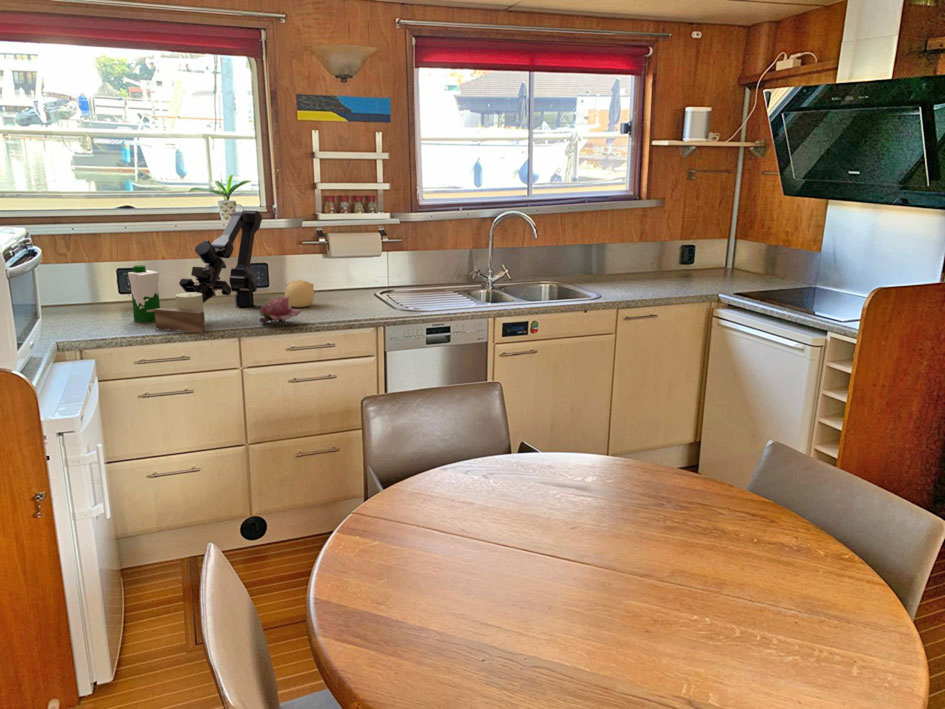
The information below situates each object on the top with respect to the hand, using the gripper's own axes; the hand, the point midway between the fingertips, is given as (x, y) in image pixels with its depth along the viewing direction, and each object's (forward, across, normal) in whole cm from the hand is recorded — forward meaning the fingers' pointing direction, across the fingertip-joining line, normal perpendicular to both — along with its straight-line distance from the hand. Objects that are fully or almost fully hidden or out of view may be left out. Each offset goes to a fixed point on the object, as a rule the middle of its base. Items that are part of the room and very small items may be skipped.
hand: (197, 305), depth 279 cm
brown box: (+12, 0, -3) cm, 13 cm away
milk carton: (+6, -20, +4) cm, 21 cm away
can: (+8, 0, +2) cm, 8 cm away
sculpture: (-23, +21, +33) cm, 45 cm away
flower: (0, +29, +10) cm, 31 cm away
